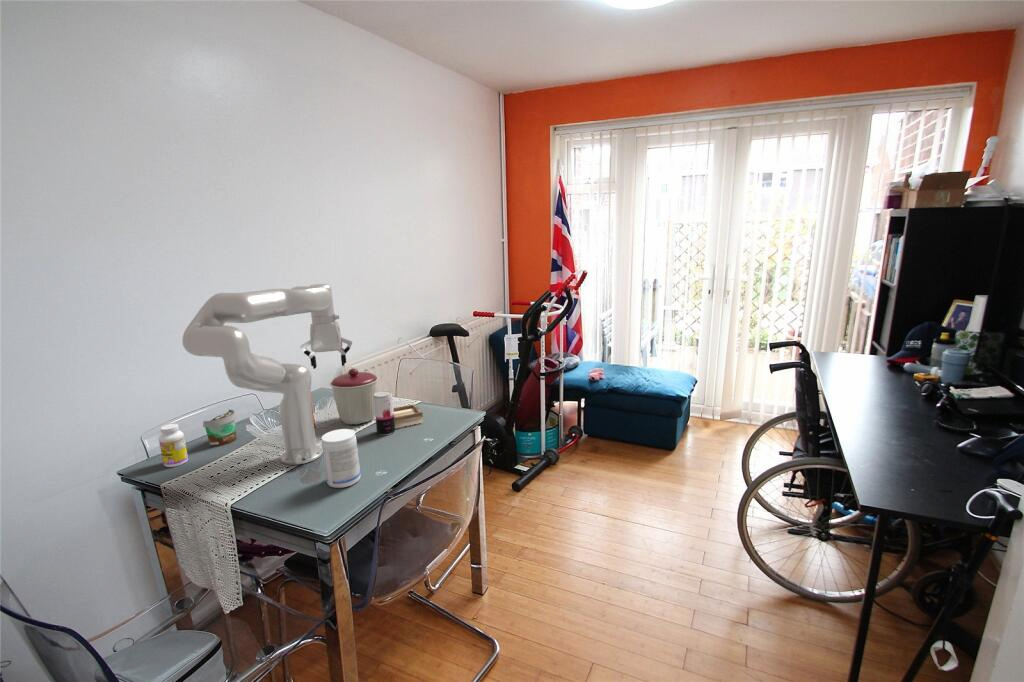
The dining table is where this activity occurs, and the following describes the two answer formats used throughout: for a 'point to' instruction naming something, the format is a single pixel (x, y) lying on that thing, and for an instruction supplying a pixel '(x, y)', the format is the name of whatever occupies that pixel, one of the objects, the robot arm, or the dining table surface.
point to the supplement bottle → (173, 446)
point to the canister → (355, 396)
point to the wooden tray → (407, 416)
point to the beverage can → (384, 412)
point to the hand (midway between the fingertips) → (329, 366)
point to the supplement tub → (341, 458)
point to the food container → (221, 429)
